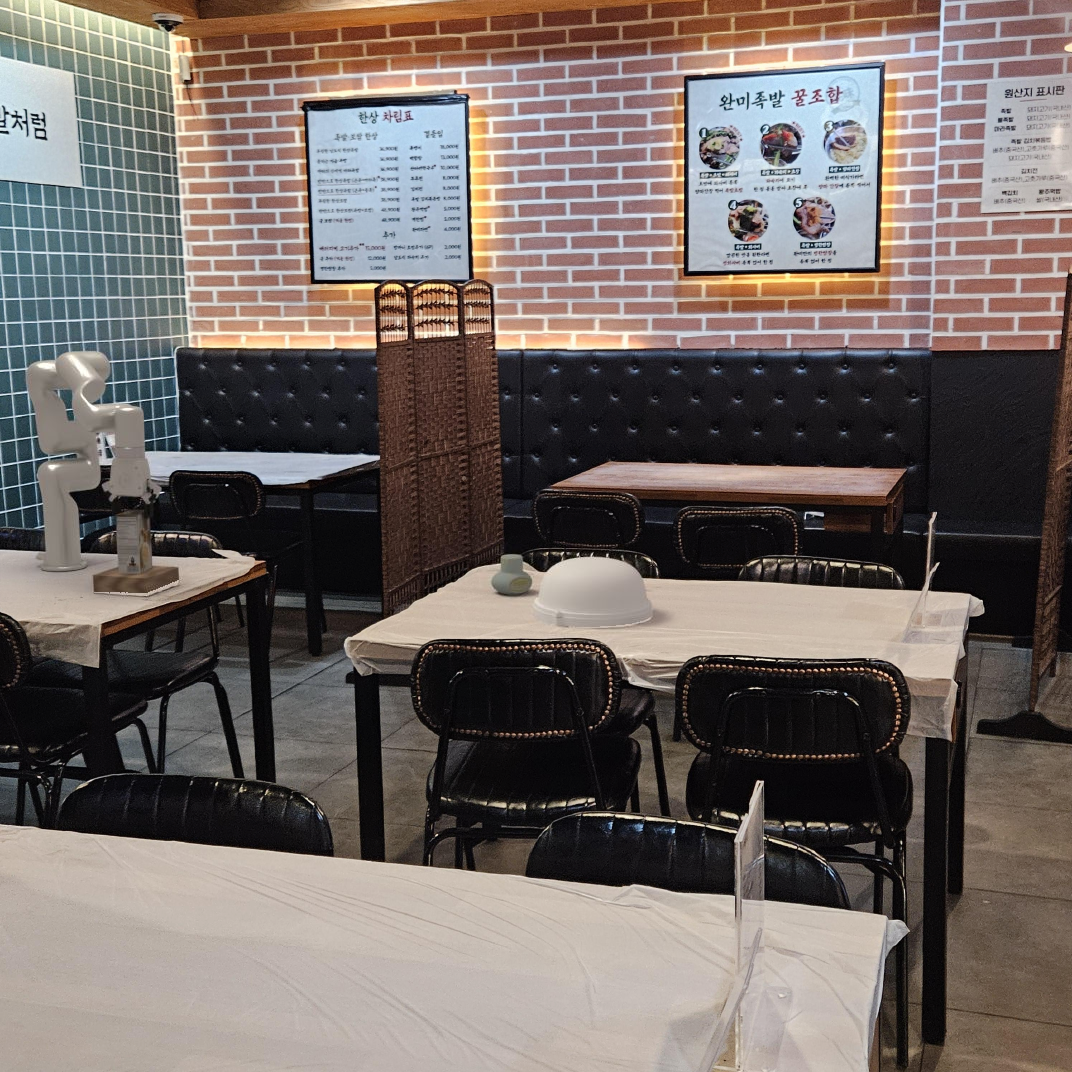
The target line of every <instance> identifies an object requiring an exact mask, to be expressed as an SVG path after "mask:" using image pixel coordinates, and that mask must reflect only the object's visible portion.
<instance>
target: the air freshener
mask: <svg viewBox="0 0 1072 1072" xmlns="http://www.w3.org/2000/svg"><path fill="white" fill-rule="evenodd" d="M523 561H524V557H523V556H522V554H515V553H514V554H513V553H512V554H511V553H510V554H504V555H501V557H500V571H497V572H495V574H494V575H493V576H492V578H491V582H490V583H491V586H492V588H493V589H494V591H497V592H498V593H499V594H502V595H509V596H519V595H523V594H524V593H526V592H528V591H529V589H531V588H532V585H533V579H532V577H531V575H530V574H529V573H528V572H526V571H524V564H523V563H524V562H523Z"/></svg>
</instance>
